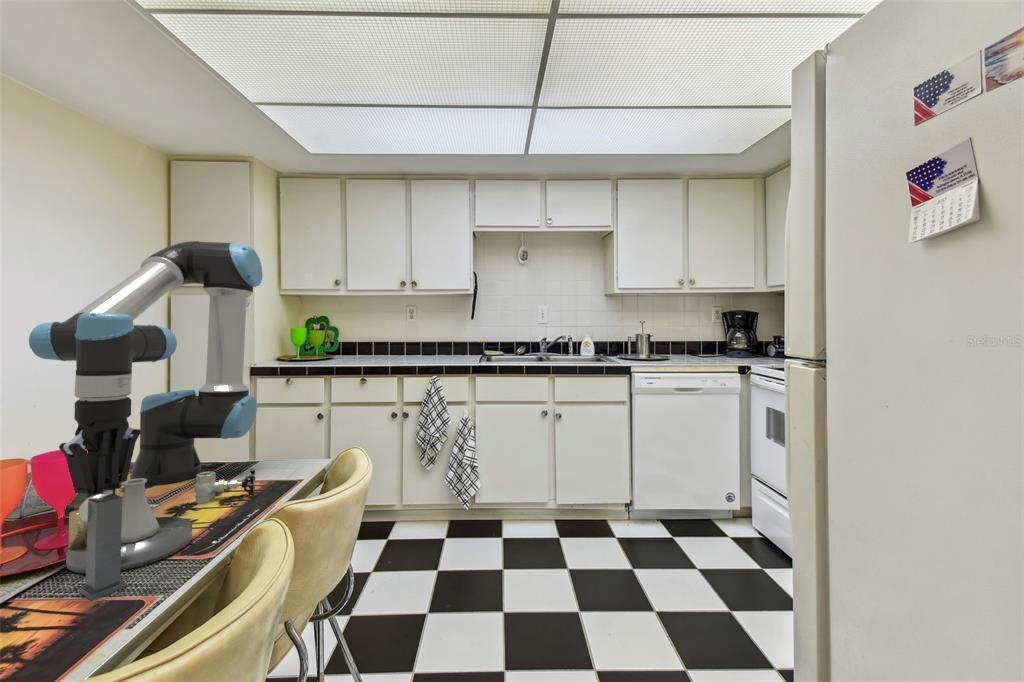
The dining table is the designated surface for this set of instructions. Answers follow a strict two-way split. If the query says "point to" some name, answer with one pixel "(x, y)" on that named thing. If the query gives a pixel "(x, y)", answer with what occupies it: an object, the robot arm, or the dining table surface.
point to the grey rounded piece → (130, 543)
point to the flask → (136, 512)
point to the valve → (219, 485)
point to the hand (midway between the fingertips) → (101, 526)
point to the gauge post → (102, 544)
